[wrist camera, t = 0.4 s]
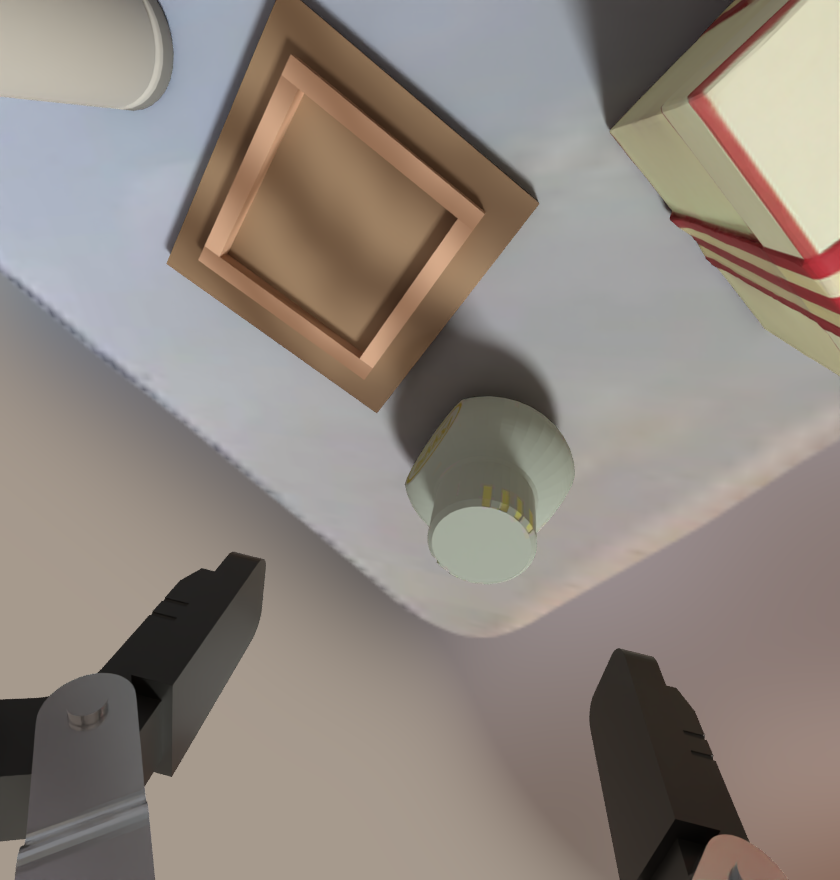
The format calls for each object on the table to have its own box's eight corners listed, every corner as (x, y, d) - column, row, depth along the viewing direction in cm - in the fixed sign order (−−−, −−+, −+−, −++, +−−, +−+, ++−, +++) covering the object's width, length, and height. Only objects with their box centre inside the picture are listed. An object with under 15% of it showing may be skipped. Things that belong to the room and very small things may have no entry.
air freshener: (484, 360, 33) (473, 433, 25) (588, 427, 34) (613, 520, 26) (400, 476, 39) (367, 570, 30) (493, 531, 40) (486, 637, 31)
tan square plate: (290, -9, 26) (273, -21, 24) (538, 202, 28) (539, 205, 27) (175, 260, 33) (156, 266, 31) (380, 406, 36) (373, 419, 34)
